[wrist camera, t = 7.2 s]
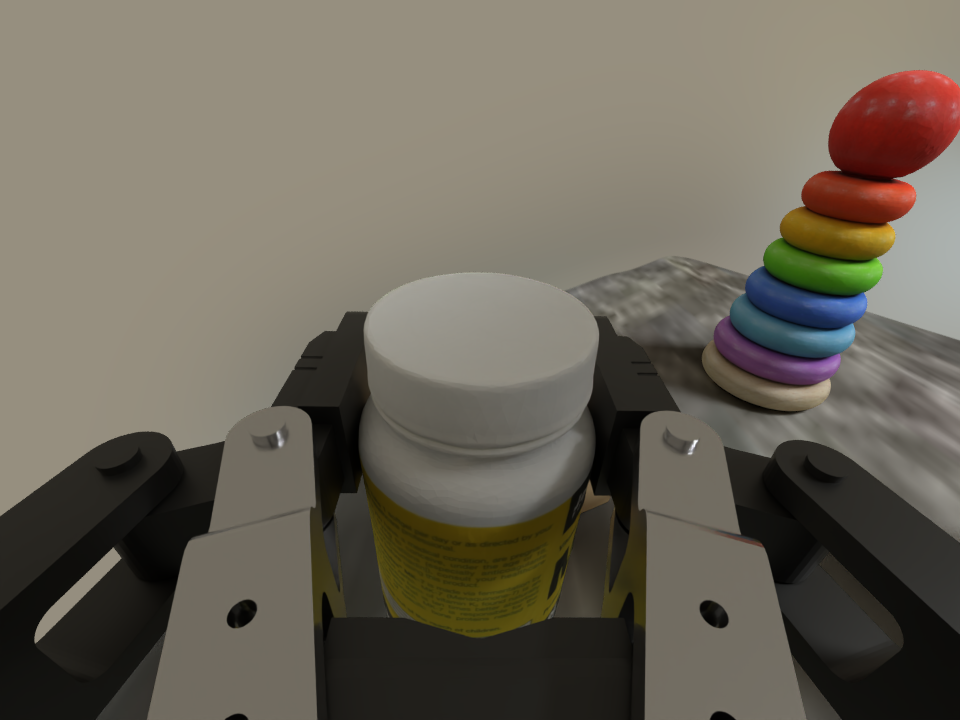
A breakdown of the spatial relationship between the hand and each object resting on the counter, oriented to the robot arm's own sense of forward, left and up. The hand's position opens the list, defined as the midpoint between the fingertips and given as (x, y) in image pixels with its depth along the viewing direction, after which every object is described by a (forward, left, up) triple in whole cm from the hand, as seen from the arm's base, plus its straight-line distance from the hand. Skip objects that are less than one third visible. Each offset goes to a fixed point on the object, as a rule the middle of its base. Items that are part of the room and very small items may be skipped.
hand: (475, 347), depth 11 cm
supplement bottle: (+1, +2, -6) cm, 7 cm away
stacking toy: (-26, -5, -12) cm, 29 cm away
